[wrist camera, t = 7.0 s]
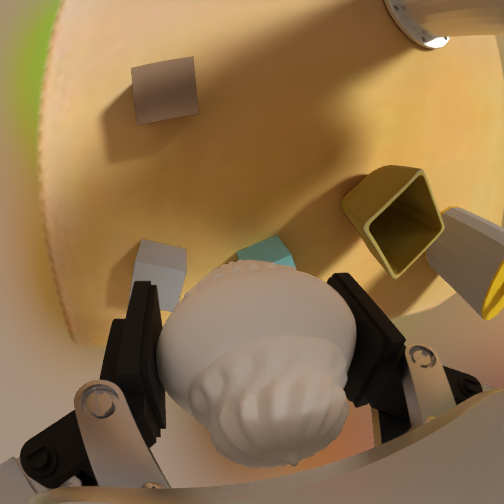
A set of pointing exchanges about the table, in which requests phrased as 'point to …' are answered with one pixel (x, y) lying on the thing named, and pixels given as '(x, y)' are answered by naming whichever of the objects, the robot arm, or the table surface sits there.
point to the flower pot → (394, 215)
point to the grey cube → (161, 271)
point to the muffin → (260, 361)
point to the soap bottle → (471, 259)
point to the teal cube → (268, 252)
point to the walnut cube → (164, 90)
